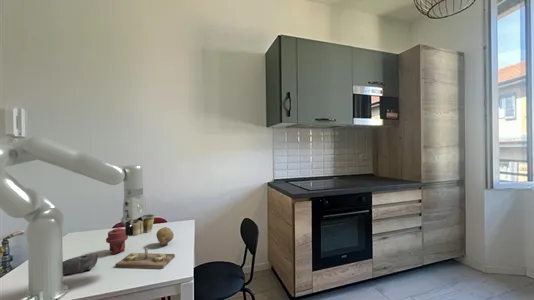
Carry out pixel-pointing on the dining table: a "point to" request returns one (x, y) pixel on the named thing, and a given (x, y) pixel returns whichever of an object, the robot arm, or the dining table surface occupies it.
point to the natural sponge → (164, 235)
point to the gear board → (145, 260)
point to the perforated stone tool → (79, 264)
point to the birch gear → (137, 227)
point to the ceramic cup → (148, 223)
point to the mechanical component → (117, 240)
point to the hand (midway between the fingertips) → (134, 231)
